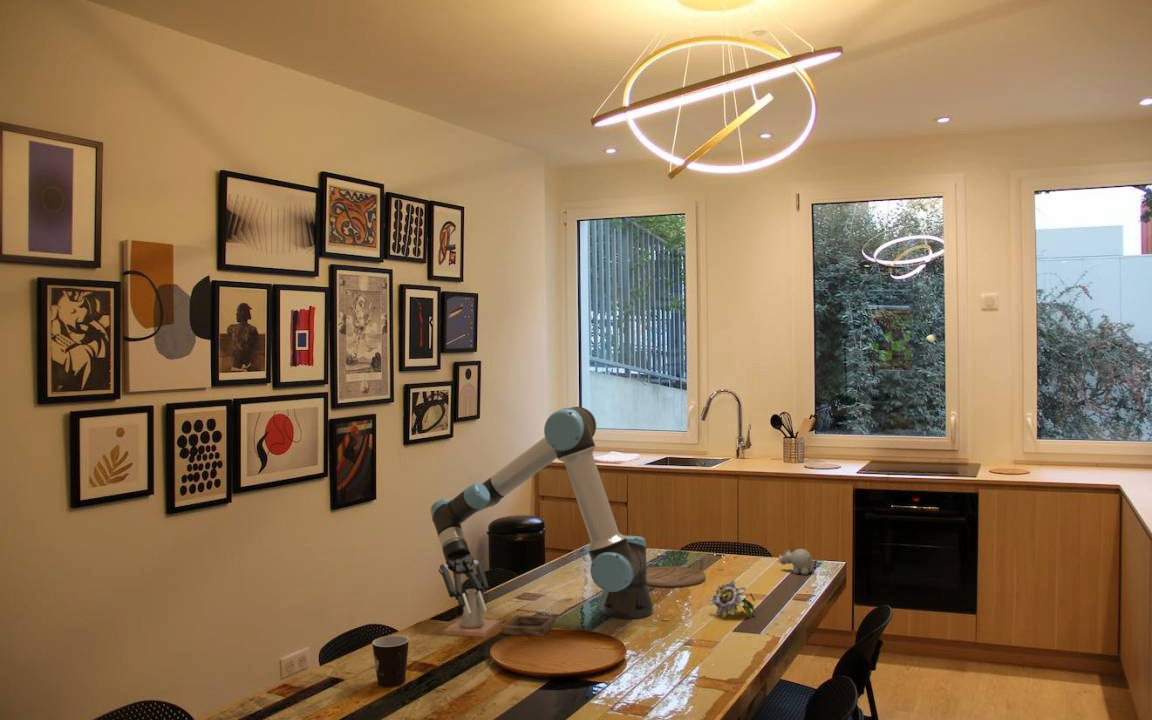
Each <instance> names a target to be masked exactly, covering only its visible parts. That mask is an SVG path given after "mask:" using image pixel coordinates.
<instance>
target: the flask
mask: <svg viewBox="0 0 1152 720" xmlns="http://www.w3.org/2000/svg"><path fill="white" fill-rule="evenodd" d="M465 594H466V598H467V601H468V604H469V607H470V610H471V615H470V617H469V618H467V619H466V615H465V612H464V611H463V612H462V616H461V617H460V619H461V622H460V627H465V628H476V627H480V626H482V625H484V621H483V620H484V618H483V616H482V614H481V611H480V608H479V605H478V602H477V599H476V594H477V590H476V589H474V588H469V589H466V590H465Z"/></svg>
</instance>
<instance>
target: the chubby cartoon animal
mask: <svg viewBox="0 0 1152 720" xmlns="http://www.w3.org/2000/svg"><path fill="white" fill-rule="evenodd" d="M812 560H813V558H812V555H811V552H809V551H808V550H807V549H804V548H797V549H795V550H794V551H793V552H791V551H790V549H788V550H787V551H786V550H784V551H783V555H782V554H781V553H780V554H779V563H780V564H781V565H782V566H783V565H784V566H785V565H786V564H787V565H789V564H790V565H791V564H792V566H793V568H792V573H793V574H797V575H799V574H801V575H804V576H806V575H809V573H813V571H814V570H813V566H812V563H813V562H812Z"/></svg>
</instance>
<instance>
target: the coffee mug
mask: <svg viewBox="0 0 1152 720" xmlns="http://www.w3.org/2000/svg"><path fill="white" fill-rule="evenodd" d="M409 641H410V638H408V637H407V636H404V635H386V636H381V637H378V638H375V639H374V640H372V650H373V659H374V666H375V672H376V679H377V685H378V686H379V687H381V688H385V689H387V688H396V687H400V686H402V685H404V684H405V683H406V674H407V666H408V665H407V664H408V663H407V662H408V654H409V653H408V652H409Z"/></svg>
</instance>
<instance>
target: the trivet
mask: <svg viewBox="0 0 1152 720" xmlns="http://www.w3.org/2000/svg"><path fill="white" fill-rule="evenodd" d="M646 573H647V587H650V588H659V589H660V588H662V589H675V588H676V589H679V588H681V589H682V588H690V587H694V586H698V585H701V584H703V583H704V582H706V573H705V572H704V571H702V570H701V569H698V568H697V569H696V568H693V567H687V566H677V565H676V566H675V565H673V566H672V565H668V566H667V565H664V566H650V567H646Z"/></svg>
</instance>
